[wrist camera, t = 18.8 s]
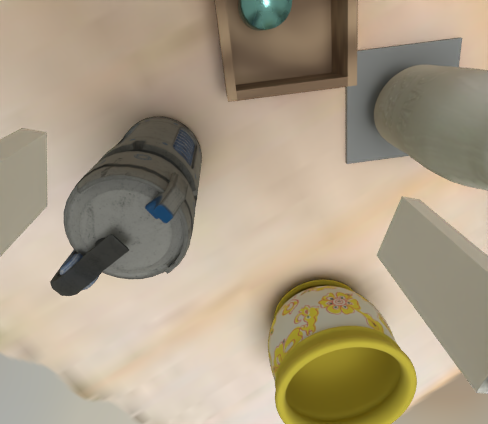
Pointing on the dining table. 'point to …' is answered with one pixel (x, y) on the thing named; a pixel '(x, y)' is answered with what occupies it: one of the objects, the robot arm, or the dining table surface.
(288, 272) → the dining table surface
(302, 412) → the flowerpot
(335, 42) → the walnut crate
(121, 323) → the dining table surface
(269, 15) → the teal tin
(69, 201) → the beverage bottle
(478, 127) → the grey vase
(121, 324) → the dining table surface
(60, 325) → the dining table surface
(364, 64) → the grey mat
